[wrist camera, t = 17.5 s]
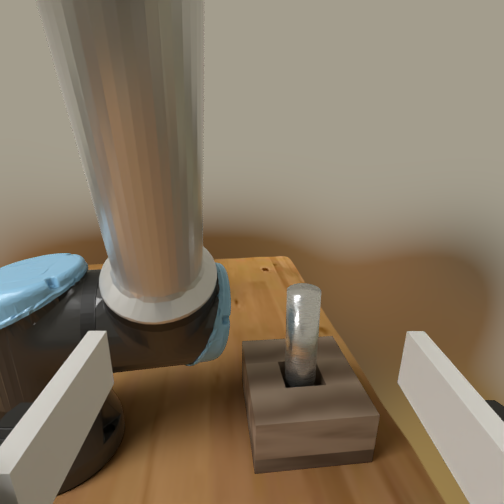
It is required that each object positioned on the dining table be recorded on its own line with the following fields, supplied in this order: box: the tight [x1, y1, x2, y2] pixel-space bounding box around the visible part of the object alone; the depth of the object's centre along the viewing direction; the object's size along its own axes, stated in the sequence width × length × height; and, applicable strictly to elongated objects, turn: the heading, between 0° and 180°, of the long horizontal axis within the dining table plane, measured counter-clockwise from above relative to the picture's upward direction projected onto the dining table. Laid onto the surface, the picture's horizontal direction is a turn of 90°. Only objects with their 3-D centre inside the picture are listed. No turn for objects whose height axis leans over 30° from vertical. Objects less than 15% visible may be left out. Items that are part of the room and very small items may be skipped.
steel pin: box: [284, 283, 321, 388], centre depth 45 cm, size 4×4×17 cm
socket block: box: [242, 336, 380, 474], centre depth 47 cm, size 16×14×7 cm
